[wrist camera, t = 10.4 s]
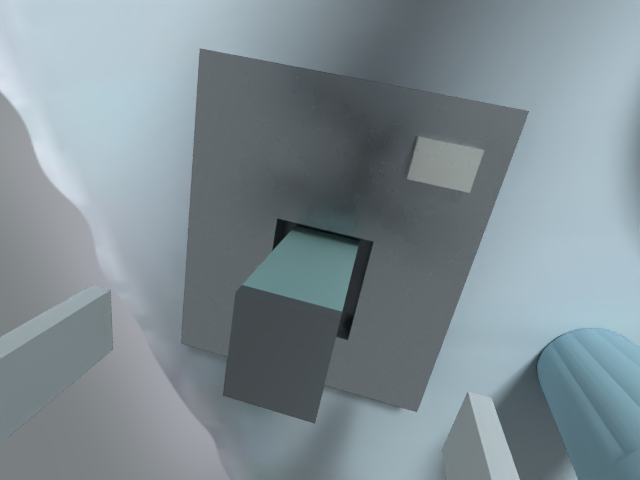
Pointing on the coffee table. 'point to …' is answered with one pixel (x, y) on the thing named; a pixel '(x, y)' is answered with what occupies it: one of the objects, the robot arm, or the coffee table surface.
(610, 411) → the cup
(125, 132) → the coffee table surface
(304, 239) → the plug
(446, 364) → the coffee table surface
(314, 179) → the socket plate
